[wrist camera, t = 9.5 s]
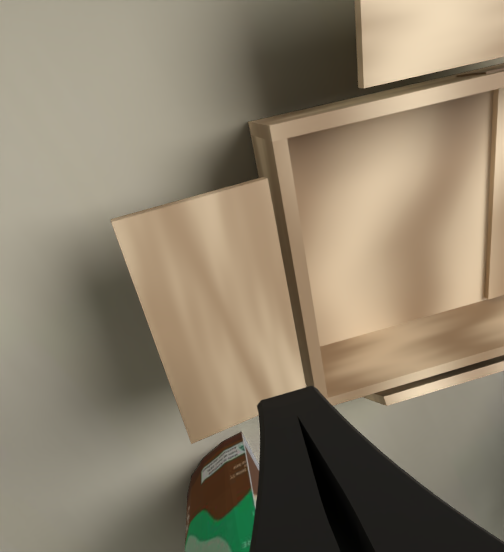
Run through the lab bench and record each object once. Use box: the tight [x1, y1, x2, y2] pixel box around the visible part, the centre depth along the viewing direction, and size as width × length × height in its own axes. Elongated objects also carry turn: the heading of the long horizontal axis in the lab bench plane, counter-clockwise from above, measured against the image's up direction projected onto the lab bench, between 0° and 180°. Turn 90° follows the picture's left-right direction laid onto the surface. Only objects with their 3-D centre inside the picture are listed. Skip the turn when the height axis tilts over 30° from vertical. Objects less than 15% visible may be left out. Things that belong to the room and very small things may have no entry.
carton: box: [248, 63, 504, 406], centre depth 18 cm, size 16×15×4 cm
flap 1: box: [111, 177, 306, 444], centre depth 14 cm, size 1×9×5 cm
